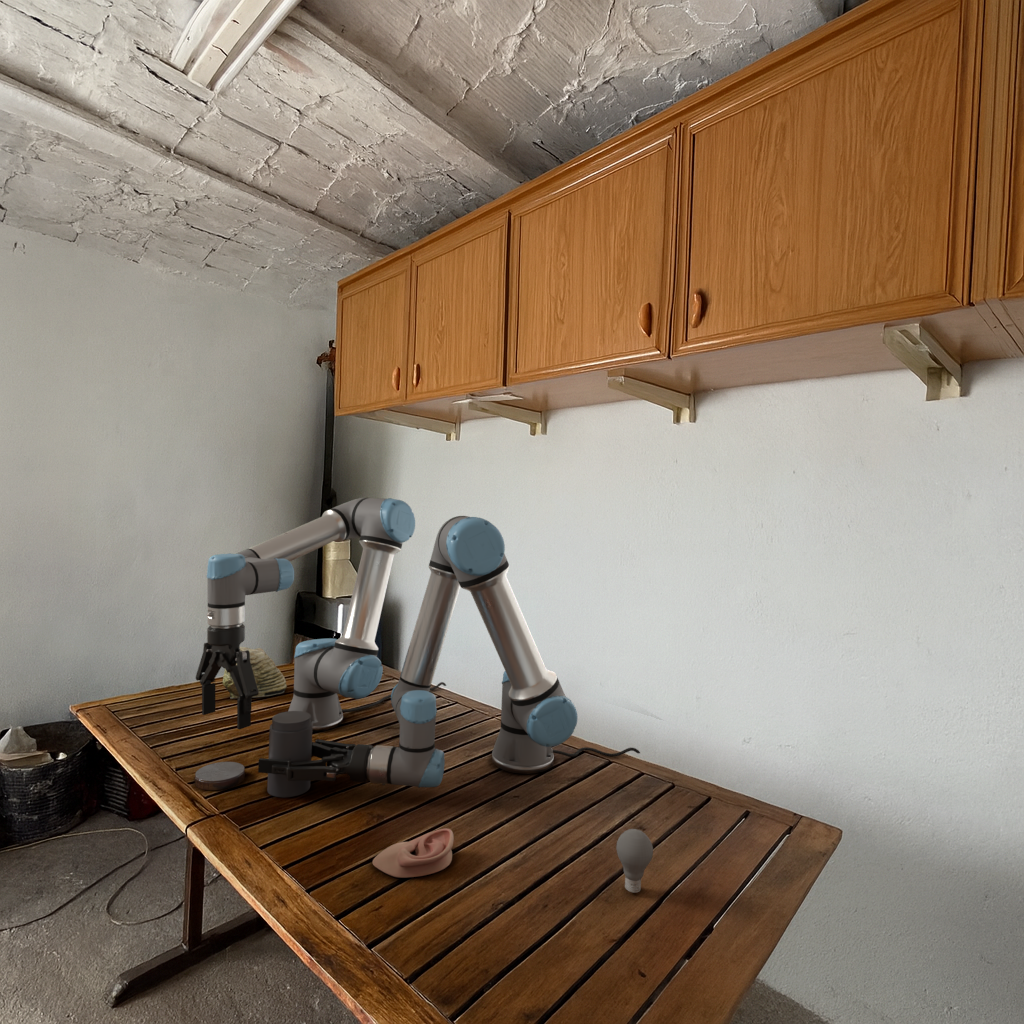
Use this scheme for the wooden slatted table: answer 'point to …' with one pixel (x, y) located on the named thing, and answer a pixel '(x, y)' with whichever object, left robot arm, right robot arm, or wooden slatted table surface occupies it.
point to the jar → (289, 750)
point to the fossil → (259, 675)
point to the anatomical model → (417, 855)
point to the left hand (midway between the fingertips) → (225, 720)
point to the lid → (219, 775)
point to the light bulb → (634, 857)
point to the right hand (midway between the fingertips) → (269, 756)
